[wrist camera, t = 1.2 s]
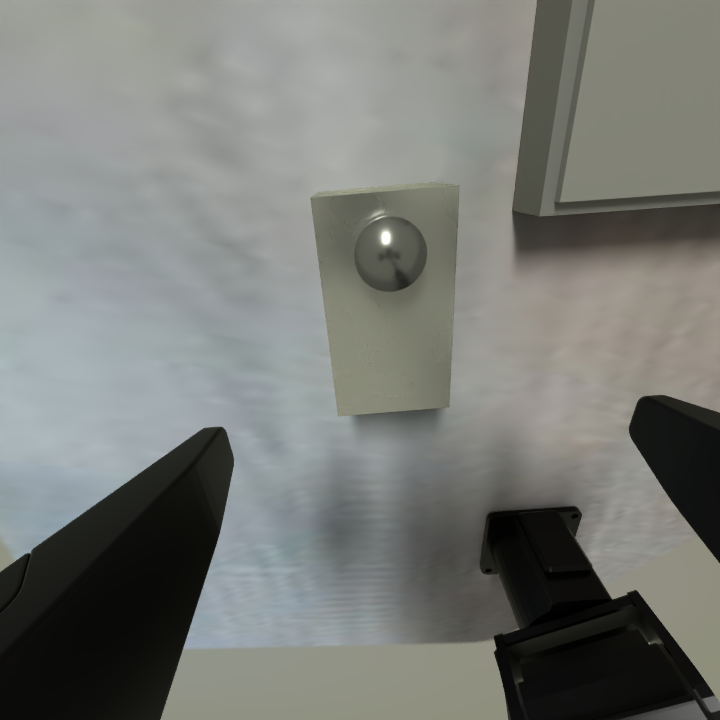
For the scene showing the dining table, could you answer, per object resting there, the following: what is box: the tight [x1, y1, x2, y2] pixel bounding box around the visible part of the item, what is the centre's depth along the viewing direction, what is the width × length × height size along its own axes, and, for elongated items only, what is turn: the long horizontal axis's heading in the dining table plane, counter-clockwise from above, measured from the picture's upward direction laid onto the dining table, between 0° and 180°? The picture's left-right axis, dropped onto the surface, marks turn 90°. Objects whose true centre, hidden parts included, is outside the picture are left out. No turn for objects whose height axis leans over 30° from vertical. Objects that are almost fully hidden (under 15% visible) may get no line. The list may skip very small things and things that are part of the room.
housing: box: [311, 182, 460, 416], centre depth 16 cm, size 9×5×6 cm, turn 4°
